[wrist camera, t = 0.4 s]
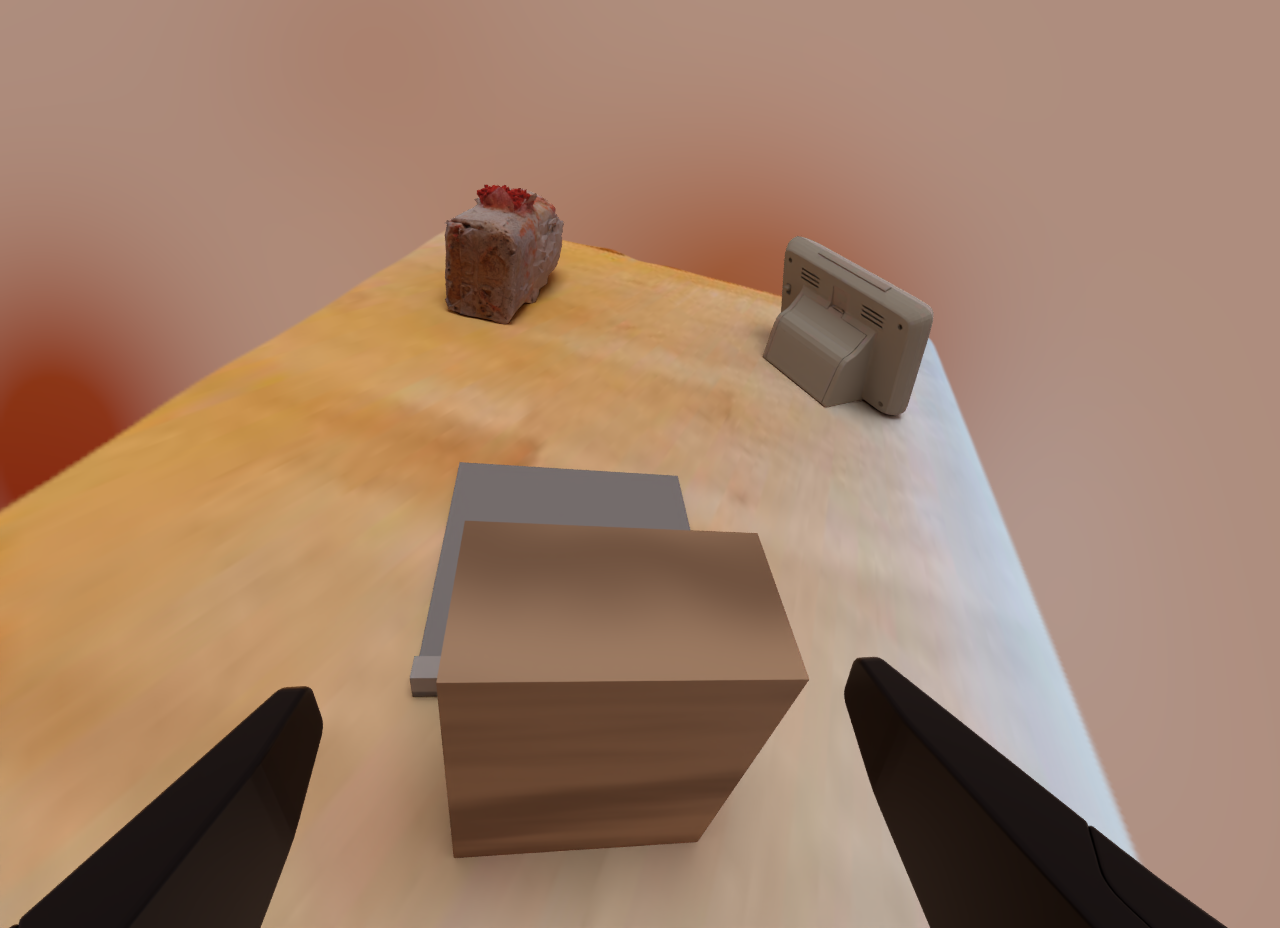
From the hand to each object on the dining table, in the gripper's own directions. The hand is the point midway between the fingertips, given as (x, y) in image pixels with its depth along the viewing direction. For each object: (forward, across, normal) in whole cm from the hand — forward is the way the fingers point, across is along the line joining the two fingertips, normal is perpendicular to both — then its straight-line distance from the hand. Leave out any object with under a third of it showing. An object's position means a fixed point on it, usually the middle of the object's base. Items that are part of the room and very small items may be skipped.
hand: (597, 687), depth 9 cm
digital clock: (+43, -23, +10) cm, 50 cm away
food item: (+51, +7, +5) cm, 52 cm away
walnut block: (+8, 0, +14) cm, 16 cm away
